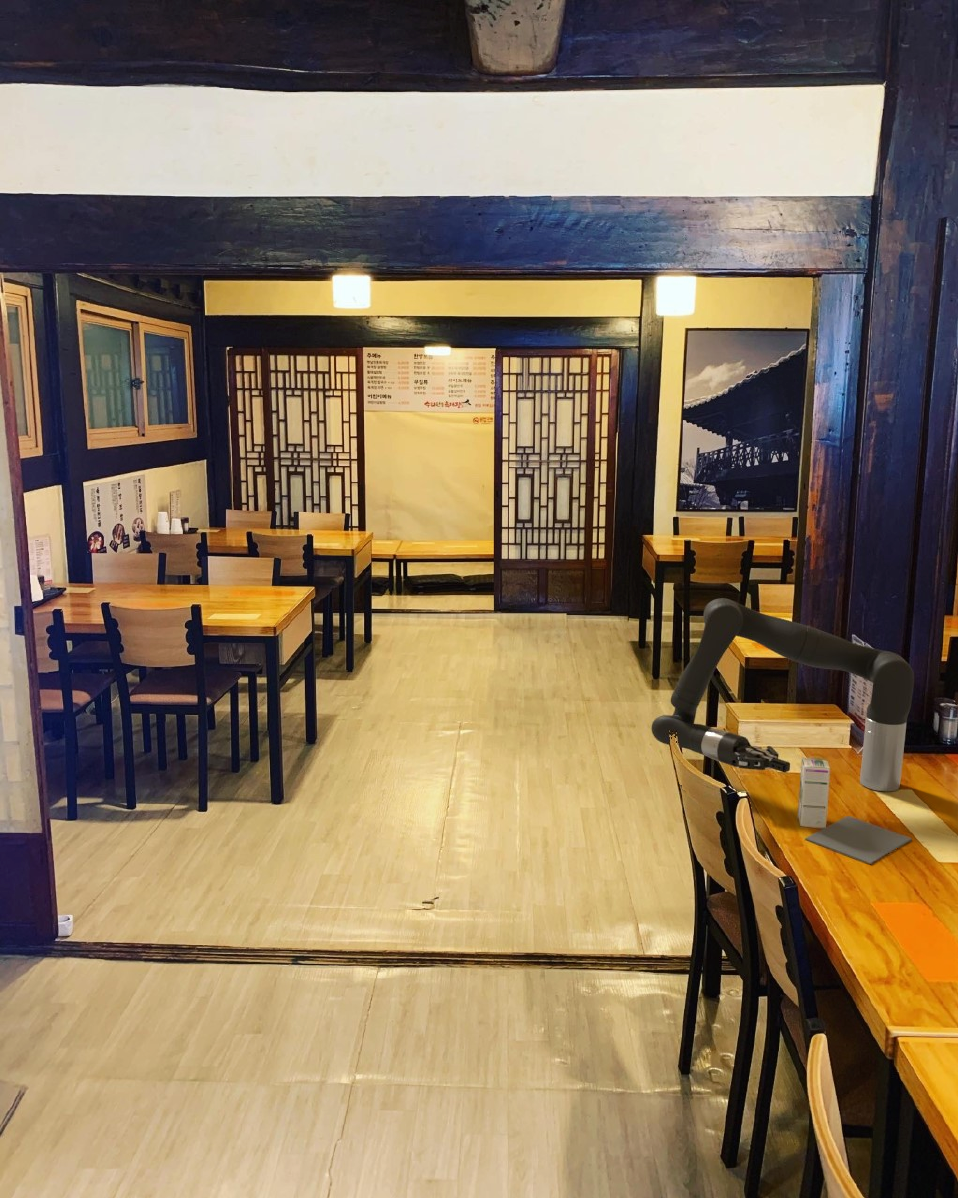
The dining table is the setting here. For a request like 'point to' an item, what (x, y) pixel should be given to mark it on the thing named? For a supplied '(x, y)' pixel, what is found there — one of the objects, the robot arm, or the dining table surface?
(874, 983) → the dining table surface
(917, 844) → the dining table surface
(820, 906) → the dining table surface
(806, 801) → the syrup box
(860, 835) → the mat
